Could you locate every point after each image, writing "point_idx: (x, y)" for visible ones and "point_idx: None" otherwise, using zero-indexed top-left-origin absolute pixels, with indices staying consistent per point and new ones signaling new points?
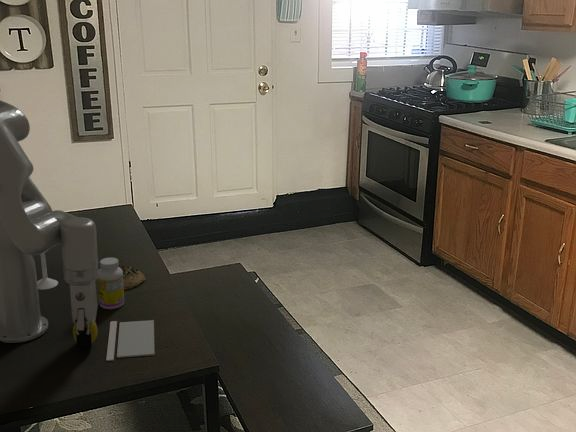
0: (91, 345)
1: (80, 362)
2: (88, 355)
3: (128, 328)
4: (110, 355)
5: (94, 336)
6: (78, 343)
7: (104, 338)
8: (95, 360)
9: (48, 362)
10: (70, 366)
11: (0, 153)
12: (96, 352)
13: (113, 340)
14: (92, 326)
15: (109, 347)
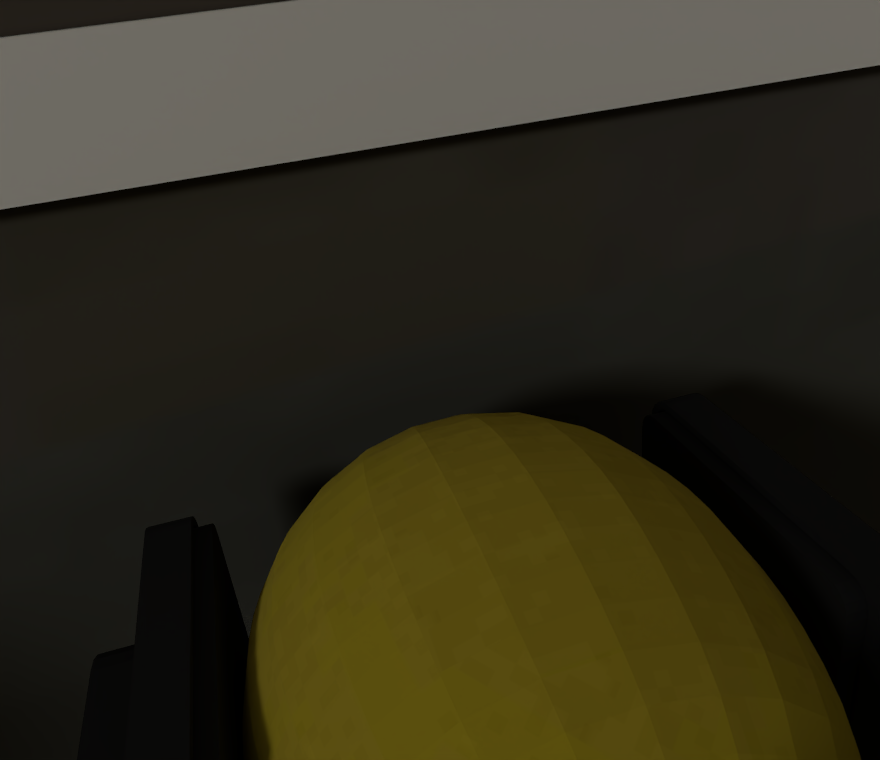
0: (719, 412)
1: (819, 423)
2: (674, 378)
3: None
4: (797, 6)
5: (640, 458)
6: None
7: (125, 274)
8: (824, 240)
9: None
10: (870, 502)
11: None
12: (610, 287)
13: (242, 51)
14: (791, 676)
15: (523, 85)
